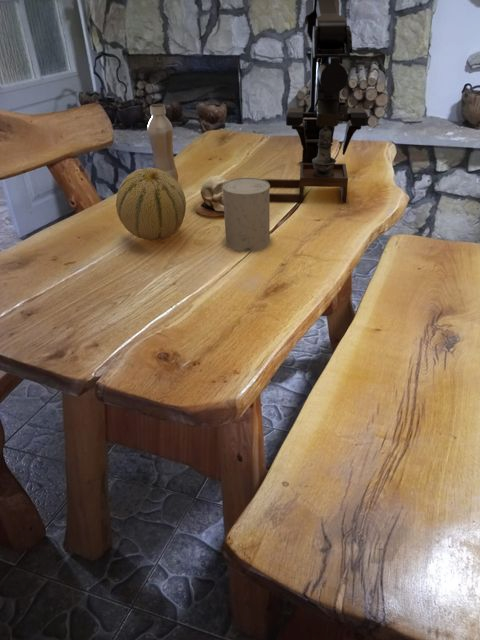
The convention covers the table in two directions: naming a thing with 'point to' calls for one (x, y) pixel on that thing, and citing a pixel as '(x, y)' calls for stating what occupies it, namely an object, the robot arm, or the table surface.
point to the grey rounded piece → (324, 155)
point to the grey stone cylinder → (246, 214)
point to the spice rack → (309, 183)
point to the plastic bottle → (162, 140)
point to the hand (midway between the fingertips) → (324, 154)
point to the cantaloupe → (150, 204)
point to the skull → (212, 197)
